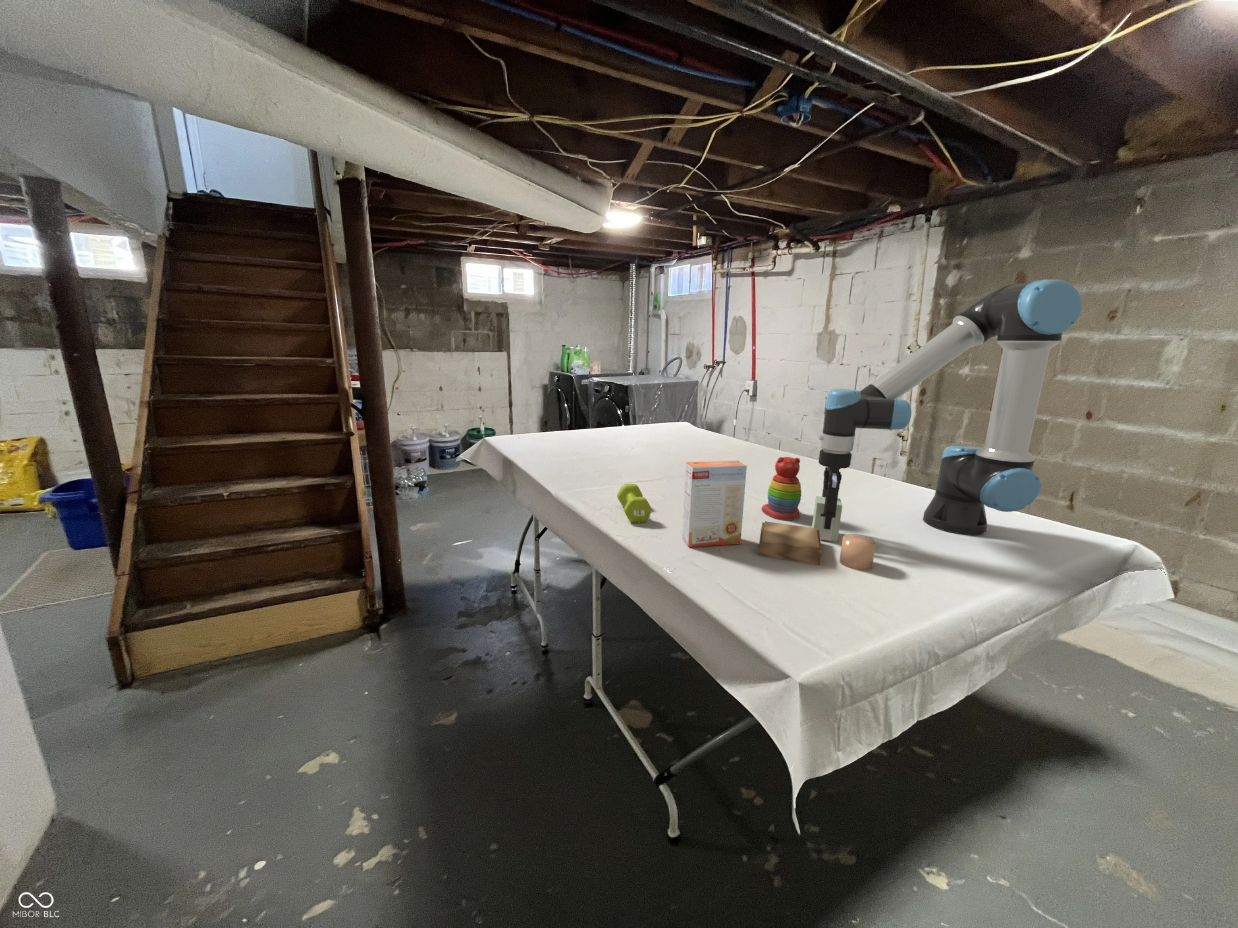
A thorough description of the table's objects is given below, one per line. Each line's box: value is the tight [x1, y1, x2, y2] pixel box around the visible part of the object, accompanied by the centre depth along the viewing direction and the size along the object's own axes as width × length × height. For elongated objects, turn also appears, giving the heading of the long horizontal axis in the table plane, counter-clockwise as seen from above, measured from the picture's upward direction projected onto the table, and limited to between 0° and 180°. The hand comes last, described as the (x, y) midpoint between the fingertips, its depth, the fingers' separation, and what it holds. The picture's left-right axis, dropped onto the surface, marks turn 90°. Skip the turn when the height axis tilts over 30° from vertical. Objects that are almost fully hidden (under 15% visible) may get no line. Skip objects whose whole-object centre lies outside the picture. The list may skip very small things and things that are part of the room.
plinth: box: [757, 521, 823, 566], centre depth 121 cm, size 14×14×4 cm
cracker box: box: [682, 460, 748, 548], centre depth 122 cm, size 14×6×21 cm, turn 100°
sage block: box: [811, 495, 843, 543], centre depth 128 cm, size 6×6×10 cm
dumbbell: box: [616, 483, 653, 524], centre depth 142 cm, size 16×8×7 cm, turn 8°
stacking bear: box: [761, 456, 802, 521], centre depth 142 cm, size 11×10×18 cm
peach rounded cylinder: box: [838, 533, 877, 572], centre depth 113 cm, size 7×7×6 cm
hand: (824, 534), depth 129 cm, fingers closed on sage block, 6 cm apart
